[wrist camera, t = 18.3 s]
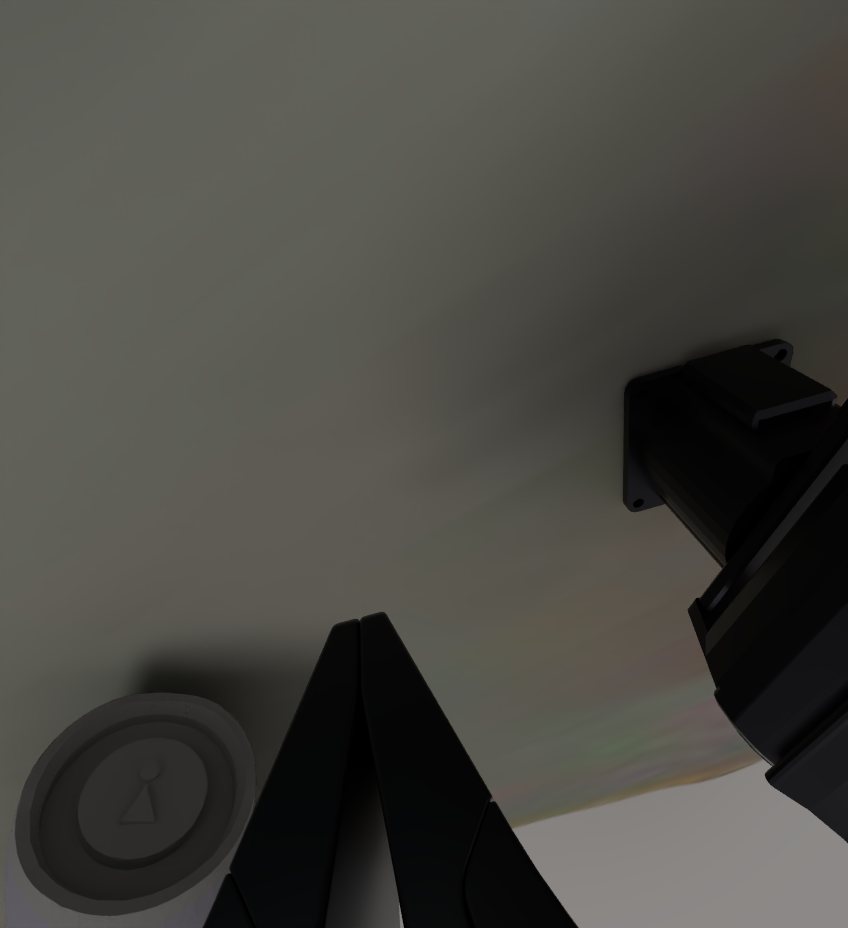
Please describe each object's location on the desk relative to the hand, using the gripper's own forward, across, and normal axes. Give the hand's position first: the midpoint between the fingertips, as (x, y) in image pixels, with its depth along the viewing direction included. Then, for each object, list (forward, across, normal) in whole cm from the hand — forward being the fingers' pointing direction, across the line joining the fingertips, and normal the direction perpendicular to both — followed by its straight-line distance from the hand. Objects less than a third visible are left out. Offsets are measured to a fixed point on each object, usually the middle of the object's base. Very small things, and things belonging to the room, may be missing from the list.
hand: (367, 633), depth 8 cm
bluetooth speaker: (+12, +18, +22) cm, 31 cm away
